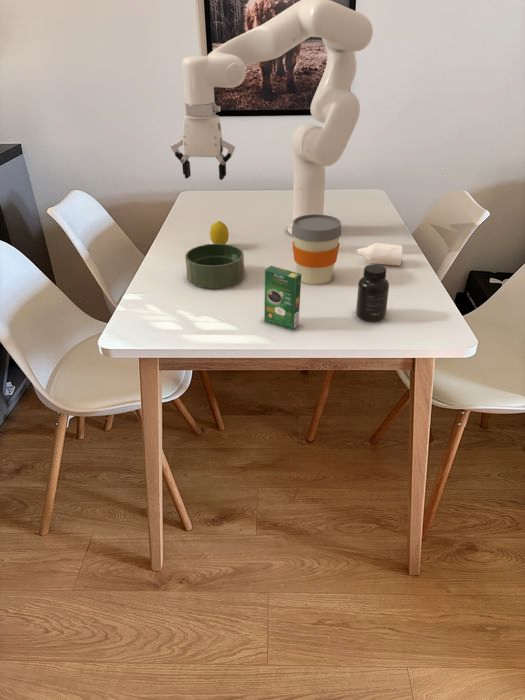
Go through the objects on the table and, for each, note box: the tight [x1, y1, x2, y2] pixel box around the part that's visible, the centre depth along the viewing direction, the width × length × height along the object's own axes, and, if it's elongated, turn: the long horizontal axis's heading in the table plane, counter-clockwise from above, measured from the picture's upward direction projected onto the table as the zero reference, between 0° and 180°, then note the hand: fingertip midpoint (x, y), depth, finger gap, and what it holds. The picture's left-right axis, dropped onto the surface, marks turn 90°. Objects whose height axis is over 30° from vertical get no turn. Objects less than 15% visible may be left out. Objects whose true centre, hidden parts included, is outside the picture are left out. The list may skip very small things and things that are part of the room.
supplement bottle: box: [355, 263, 390, 323], centre depth 126 cm, size 7×7×12 cm
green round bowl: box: [184, 243, 245, 289], centre depth 147 cm, size 15×15×6 cm
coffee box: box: [263, 265, 302, 331], centre depth 123 cm, size 8×3×13 cm, turn 57°
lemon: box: [209, 220, 230, 244], centre depth 164 cm, size 6×6×8 cm
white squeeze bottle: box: [356, 242, 403, 267], centre depth 154 cm, size 6×12×6 cm, turn 78°
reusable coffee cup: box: [291, 214, 342, 285], centre depth 144 cm, size 12×13×15 cm
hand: (204, 177), depth 152 cm, fingers open, 9 cm apart
